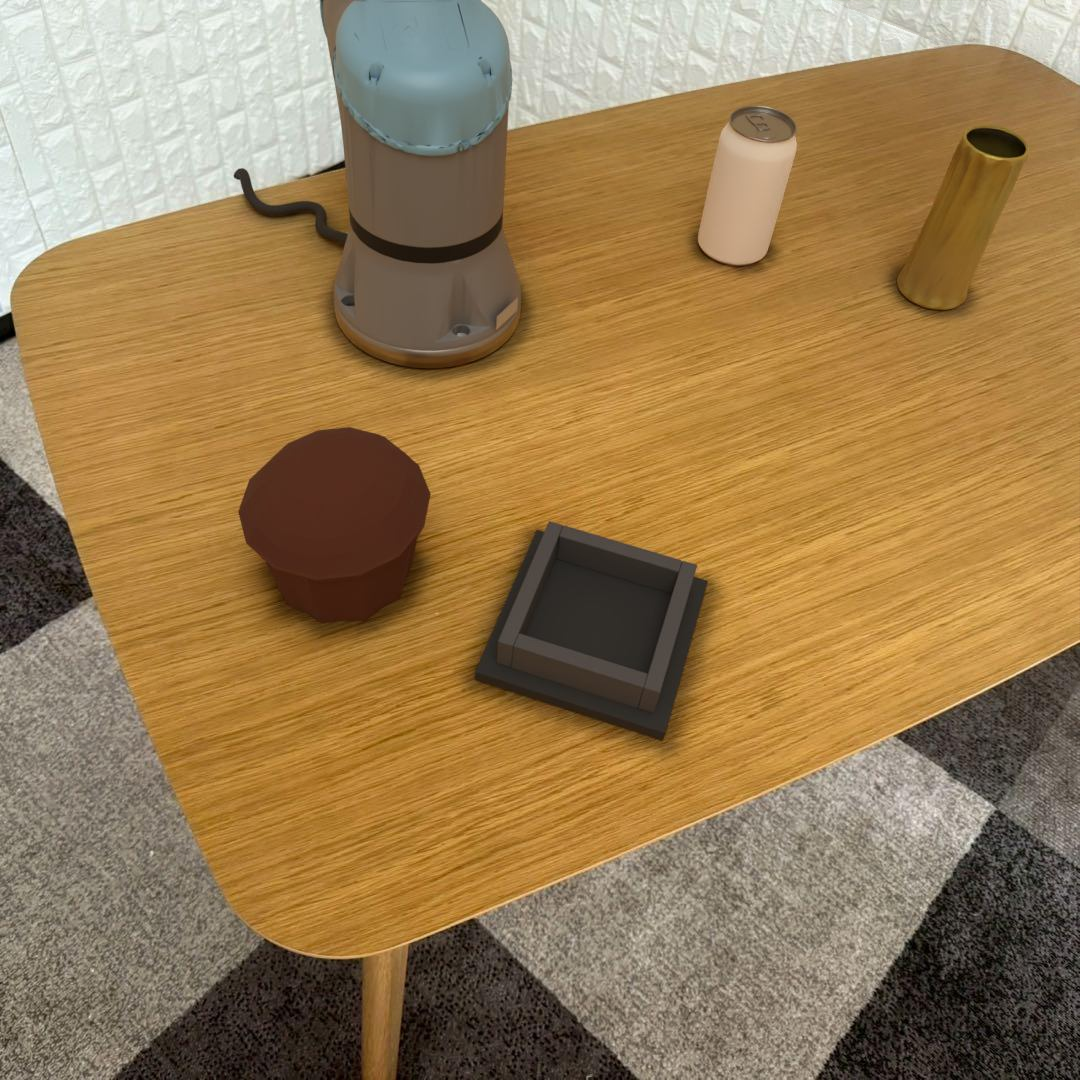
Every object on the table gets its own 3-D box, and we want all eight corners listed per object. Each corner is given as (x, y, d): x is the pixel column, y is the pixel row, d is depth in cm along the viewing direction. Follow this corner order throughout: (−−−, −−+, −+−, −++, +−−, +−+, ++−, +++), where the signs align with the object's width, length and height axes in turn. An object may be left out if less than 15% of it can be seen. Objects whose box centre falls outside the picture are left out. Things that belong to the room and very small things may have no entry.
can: (711, 272, 90) (742, 146, 81) (686, 229, 94) (712, 105, 85) (778, 264, 92) (815, 140, 82) (750, 222, 95) (783, 99, 86)
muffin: (360, 671, 62) (348, 574, 54) (218, 593, 65) (186, 490, 57) (463, 543, 69) (465, 440, 61) (330, 477, 72) (316, 371, 64)
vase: (883, 273, 92) (943, 124, 81) (941, 264, 93) (1008, 117, 82) (918, 315, 88) (985, 166, 77) (977, 306, 90) (1052, 158, 79)
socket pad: (474, 680, 62) (475, 649, 60) (535, 538, 70) (539, 505, 67) (662, 741, 61) (673, 712, 58) (705, 589, 68) (716, 557, 65)
